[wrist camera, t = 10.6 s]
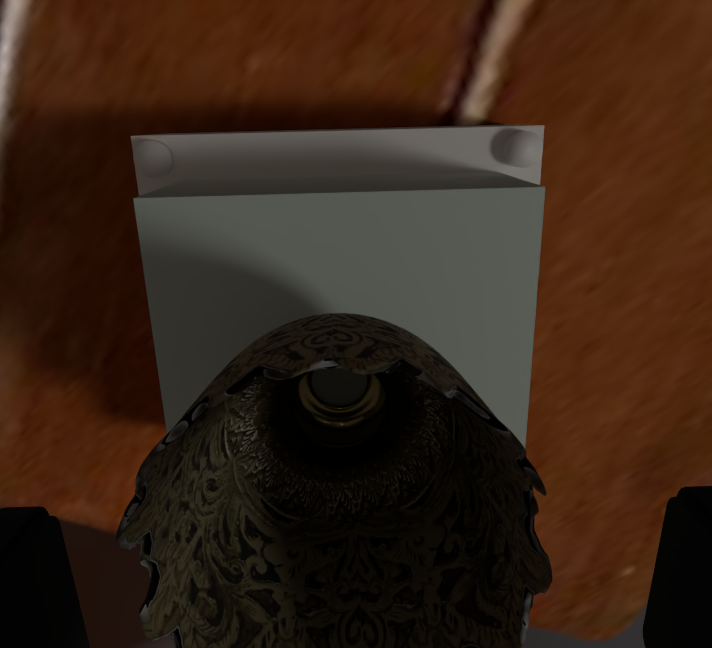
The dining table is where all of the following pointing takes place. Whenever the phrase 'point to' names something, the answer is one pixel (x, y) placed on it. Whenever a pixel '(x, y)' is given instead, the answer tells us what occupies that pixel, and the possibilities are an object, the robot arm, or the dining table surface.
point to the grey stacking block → (343, 248)
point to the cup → (338, 504)
